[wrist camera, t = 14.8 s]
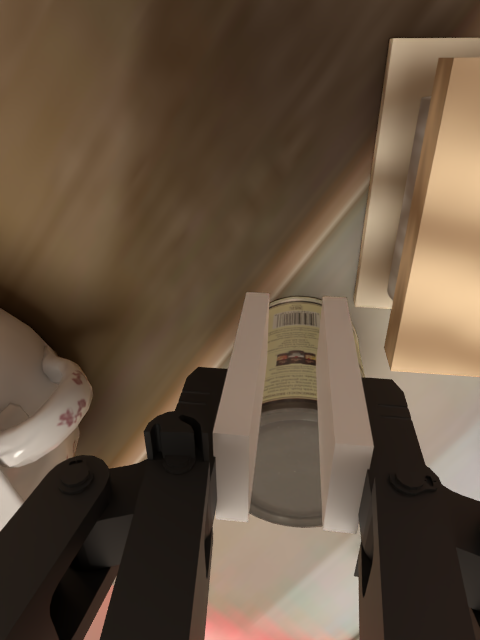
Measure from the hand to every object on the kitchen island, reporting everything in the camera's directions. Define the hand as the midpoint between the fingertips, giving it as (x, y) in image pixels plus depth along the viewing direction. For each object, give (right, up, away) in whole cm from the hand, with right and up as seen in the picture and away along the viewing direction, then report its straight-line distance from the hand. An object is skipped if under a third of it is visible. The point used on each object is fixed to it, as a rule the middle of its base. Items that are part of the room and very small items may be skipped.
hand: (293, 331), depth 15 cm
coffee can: (+3, -2, +25) cm, 25 cm away
